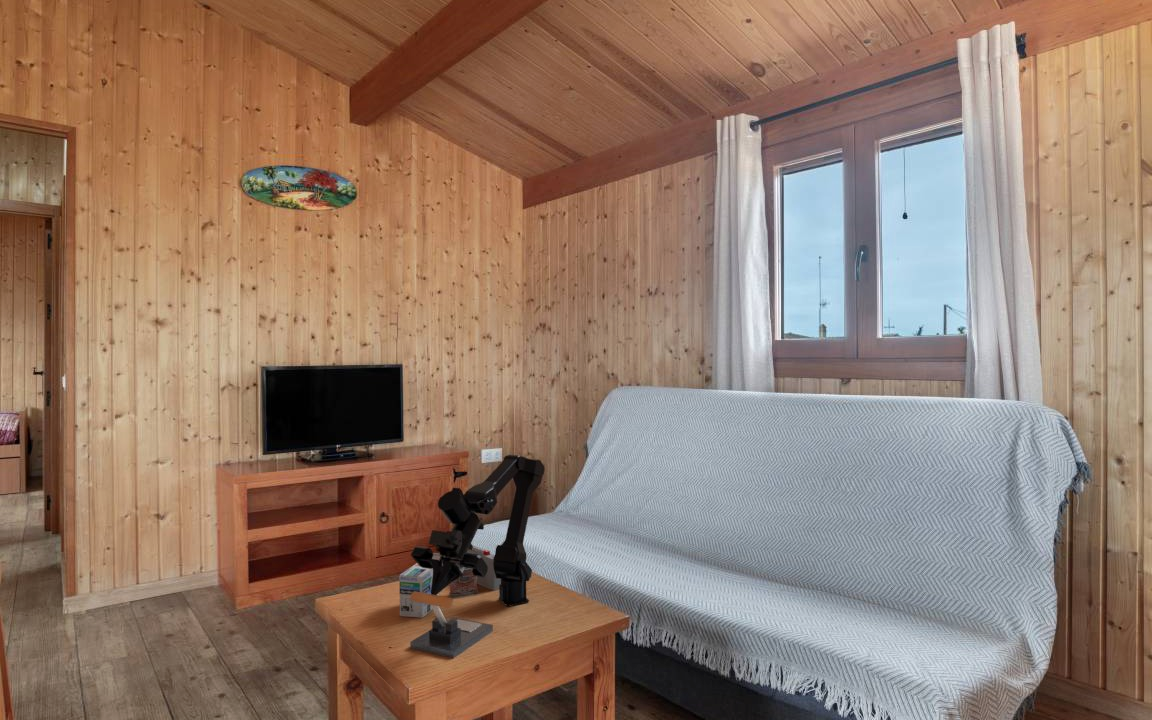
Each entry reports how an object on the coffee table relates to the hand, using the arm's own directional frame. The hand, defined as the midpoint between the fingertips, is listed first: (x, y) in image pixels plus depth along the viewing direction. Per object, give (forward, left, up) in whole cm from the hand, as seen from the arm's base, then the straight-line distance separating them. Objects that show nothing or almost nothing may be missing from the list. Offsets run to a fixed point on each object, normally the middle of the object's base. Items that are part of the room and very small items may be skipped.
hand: (432, 594), depth 150 cm
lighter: (-18, -31, -13) cm, 39 cm away
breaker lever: (-3, -2, -9) cm, 10 cm away
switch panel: (-6, -4, -13) cm, 15 cm away
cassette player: (-26, -37, -13) cm, 48 cm away
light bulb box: (-4, -27, -13) cm, 30 cm away
